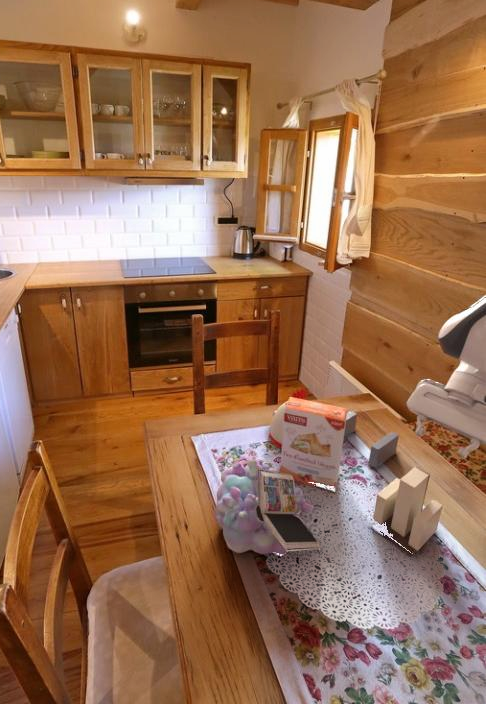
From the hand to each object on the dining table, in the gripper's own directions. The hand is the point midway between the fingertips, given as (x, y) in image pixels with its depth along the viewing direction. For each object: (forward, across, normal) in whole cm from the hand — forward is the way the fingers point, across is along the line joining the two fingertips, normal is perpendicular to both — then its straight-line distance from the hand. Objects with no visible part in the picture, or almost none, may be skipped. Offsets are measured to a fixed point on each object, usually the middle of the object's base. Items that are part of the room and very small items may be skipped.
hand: (438, 445), depth 91 cm
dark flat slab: (+20, +1, +2) cm, 20 cm away
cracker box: (+23, -22, -1) cm, 32 cm away
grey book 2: (+8, -14, +14) cm, 21 cm away
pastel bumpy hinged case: (+37, -17, -15) cm, 44 cm away
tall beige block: (+19, +1, 0) cm, 19 cm away
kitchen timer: (+16, -36, +6) cm, 40 cm away
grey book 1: (+8, -27, +14) cm, 32 cm away
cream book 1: (+19, -3, 0) cm, 19 cm away
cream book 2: (+19, +5, 0) cm, 20 cm away
